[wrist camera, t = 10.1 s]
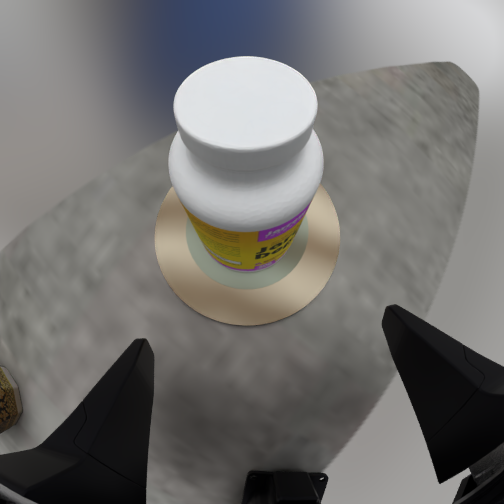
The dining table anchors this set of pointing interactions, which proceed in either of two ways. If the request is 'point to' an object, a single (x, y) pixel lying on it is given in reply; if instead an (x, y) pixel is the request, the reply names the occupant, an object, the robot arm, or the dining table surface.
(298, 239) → the round tan coaster
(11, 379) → the ceramic cup
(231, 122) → the supplement bottle
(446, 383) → the robot arm
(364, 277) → the dining table surface
